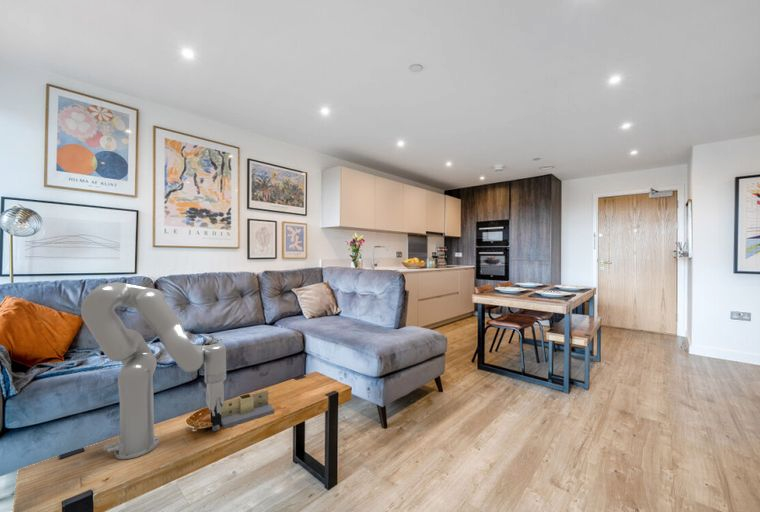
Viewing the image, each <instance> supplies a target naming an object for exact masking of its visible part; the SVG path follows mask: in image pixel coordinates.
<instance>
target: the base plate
mask: <svg viewBox="0 0 760 512" xmlns="http://www.w3.org/2000/svg"><path fill="white" fill-rule="evenodd" d="M272 414H275V409H274V407H273V406H272V405H271V404H270V403H269V402H268V405H264V406H261V407H257V408H254V411H252V412H248V413H245V414H240V413H236V414H233V415H229V416H226V417H223V418H221V422H222V423H221V424H220V425H221V427H222V429H226V428H230V427H234V426H237V425H240V424H242V423H247V422H250V421H253V420H255V419H259V418H262V417H265V416H269V415H272Z"/></svg>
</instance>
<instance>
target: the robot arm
mask: <svg viewBox="0 0 760 512" xmlns="http://www.w3.org/2000/svg"><path fill="white" fill-rule="evenodd" d="M118 306H119V307H125V308H126V307H127V308H133V309H135V310H136V311H137V312H138V313H139V315H141V317H142V318H143V319H144V321H145V322H146V323H147V324H148V325H149V328H151V329H152V330H153V332H154V333H155V334H156V335H157V337H158V339H159V341H160V343H162V345H163V347H164V349H165V350H166V352H167V353H168V355H169V356H170V358H171V359H172V360H173V361H174V363H176V364H177V366H178V367H179V368H180V369H181V370H182V371H184V372H186V373H194V372H196V371H198V370H199V369H200V368H201V367H202V366H203V365H204V367H203V368H204V383H205V384H206V393H205V394H206V395H205V396H206V398H205V402H206V406H207V407H208V410H209V411H210V424H211V426H212V427H213V426H217V425H222V424H221V423H222V422H221V407H223V406H224V402H225V392H224V391H225V390H224V388H225V386H224V381H225V380H226V379H227V347H226V345H225V344H223V343H212V344H209V345H205V344H203V345H201V344H200V345H199V344H195V345H193V343H192V341H191V340H190V338H189V337H188V335H187V333H186V331H185V329H184V325H183V323H182V321H181V319H180V317H179V316H178V315H177V314H176V313H175V312H174V310H173V308H172V307H171V306H170V305H169V303H168V302H167V301H166V295H165V294H164V292H163V291H162V290H160V289H157V288H152V287H148V286H147V287H146V286H141V285H135V284H131V283H125V282H120V281H119V282H118V281H117V282H116V281H115V282H110V283H104V284H101V285H99V286H96V287H95V288H94V289H92V290H90V292H89V293H88V294H87V295H86V296H85V298H84V300H83V301H82V303H81V307H80V316H81V318H82V321H83V322H84V324H85V325H86V327H87V328H88V330H89V331H90V333H91V335H92V336H93V339H94V340H95V342H96V343H97V344H98V346H99V347H100V349H101V350H102V352H103V354H104V355H105V357H106V358H107V359H108V360H110V361H111V362H116V363H117V362H119V363H121V364H122V365H123V366H122V367H121V369H120V371H119V373H118V377H117V387H118V388H117V389H118V394H119V397H118V398H119V433H120V434H119V436H120V437H119V439H118V440H116V441H115V442H112V443H107V444H104V445H103V448H102V449H103V450H102V452H106V453H107V454H108V453H113V452H114V457H115V458H116V459H118V460H128V459H134V458H138V457H141V456H143V455H146V454H148V453H150V452H152V451H153V450H154V449H156V447H158V446H159V444H160V437H158V436H156V435H155V424H154V423H155V418H154V414H155V413H154V412H155V411H154V409H155V407H154V406H155V405H154V403H155V402H154V383H153V377H154V373H155V371H156V368H157V362H158V361H157V359H156V357H155V354H154V353H153V351H152V350H151V349H150V347H149V345H148V343H147V342H146V340H145V339H144V336H142V334H141V333H140V332H138V331H137V330H136V329H131V328H127V327H126V326H125V324H124V323H123V320H122V319H121V318H120V316H119V315H118V314H117V313H116V311H115V309H116V307H118ZM215 406H216V407H215ZM212 409H213V414H212Z"/></svg>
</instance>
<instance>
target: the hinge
mask: <svg viewBox="0 0 760 512" xmlns="http://www.w3.org/2000/svg"><path fill="white" fill-rule="evenodd" d="M268 403H269V390H264V391H259V392H256V393H250V392H249V393H248V392H247V393H245V394H241V395H237V397H236V398H233V399H229V400H226V401H225V400H224V406H223V407H221V418H223V417H226V416H229V415H233V414H236V413H240V414H245V413H248V412H252V411H254V408H257V407H261V406H264V405H268Z"/></svg>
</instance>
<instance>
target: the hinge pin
mask: <svg viewBox="0 0 760 512" xmlns="http://www.w3.org/2000/svg"><path fill="white" fill-rule="evenodd" d="M215 407H216V406H215ZM211 413H212V414H213V409H212V412H211ZM220 425H221V424H220ZM220 425H217V426H212V432H218V431H219V430H220Z"/></svg>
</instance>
